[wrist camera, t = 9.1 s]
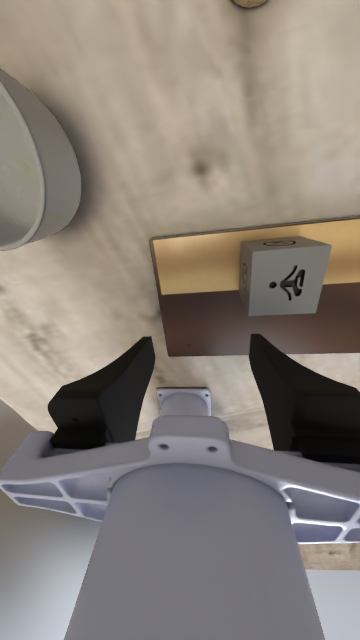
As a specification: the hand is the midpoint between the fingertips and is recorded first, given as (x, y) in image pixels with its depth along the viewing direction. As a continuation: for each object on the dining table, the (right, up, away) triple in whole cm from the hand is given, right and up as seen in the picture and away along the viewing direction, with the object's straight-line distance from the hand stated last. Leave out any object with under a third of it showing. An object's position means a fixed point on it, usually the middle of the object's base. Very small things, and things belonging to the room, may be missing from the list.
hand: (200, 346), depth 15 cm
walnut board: (+7, +5, +7) cm, 11 cm away
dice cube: (+7, +7, +5) cm, 11 cm away
